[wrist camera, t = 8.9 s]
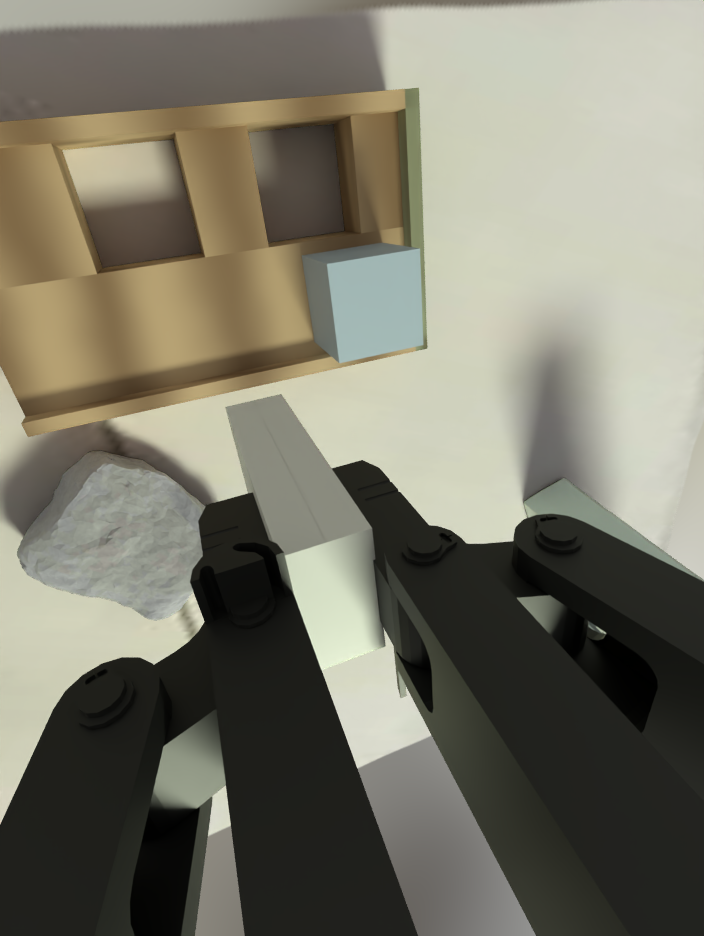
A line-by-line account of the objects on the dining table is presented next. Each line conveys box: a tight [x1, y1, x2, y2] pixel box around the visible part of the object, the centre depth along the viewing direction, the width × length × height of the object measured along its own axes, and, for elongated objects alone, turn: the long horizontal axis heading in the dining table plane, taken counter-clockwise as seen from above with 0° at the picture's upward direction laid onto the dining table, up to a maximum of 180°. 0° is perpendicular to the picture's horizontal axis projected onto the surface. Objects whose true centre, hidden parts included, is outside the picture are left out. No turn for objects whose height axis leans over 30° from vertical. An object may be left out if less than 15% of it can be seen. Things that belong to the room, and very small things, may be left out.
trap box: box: [0, 88, 427, 437], centre depth 27 cm, size 24×14×4 cm, turn 96°
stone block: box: [17, 451, 206, 621], centre depth 34 cm, size 12×5×10 cm
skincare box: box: [524, 478, 704, 634], centre depth 47 cm, size 21×6×16 cm, turn 25°
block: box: [302, 243, 423, 363], centre depth 28 cm, size 5×5×5 cm
